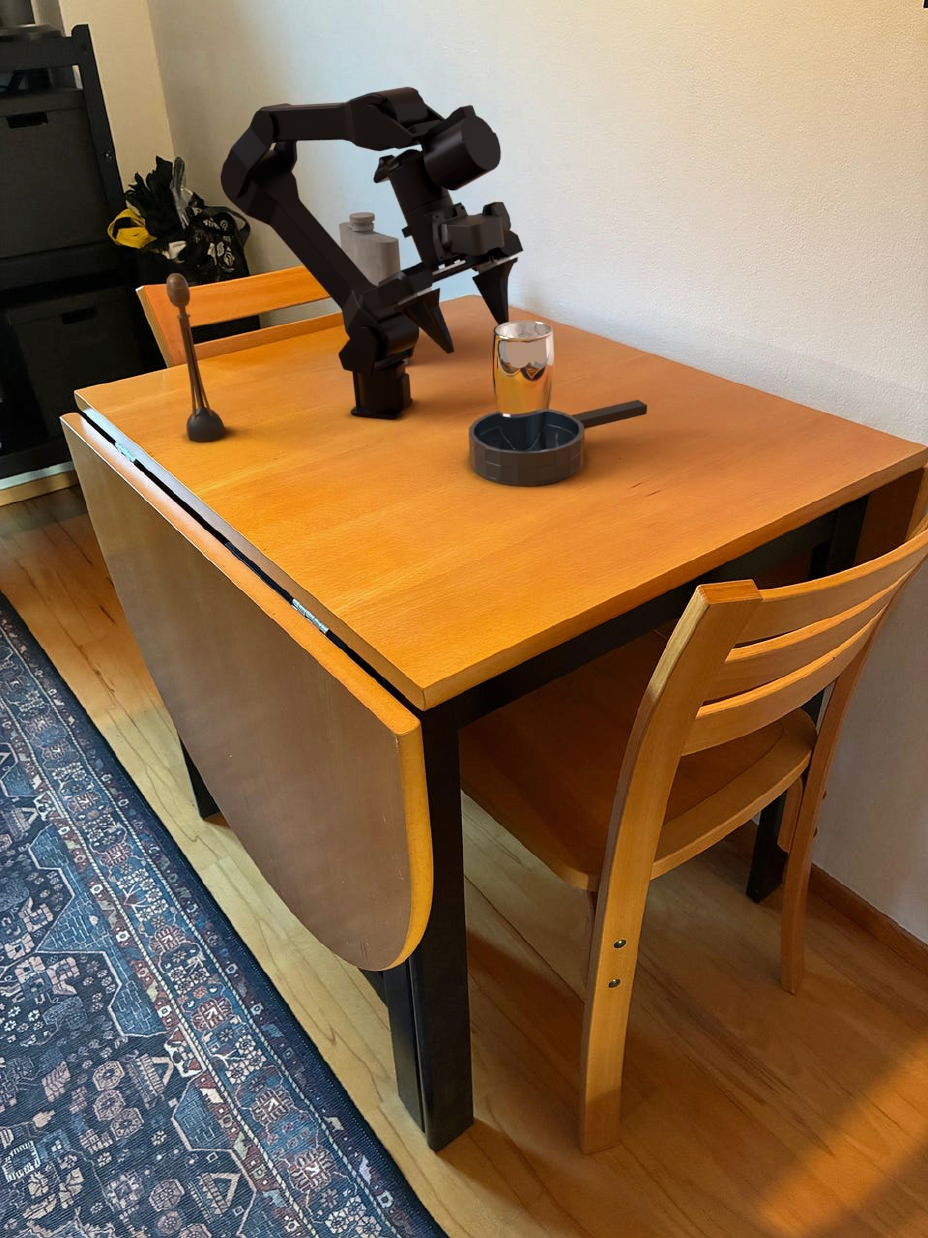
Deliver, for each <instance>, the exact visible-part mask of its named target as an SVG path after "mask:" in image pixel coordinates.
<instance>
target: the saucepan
mask: <svg viewBox="0 0 928 1238" xmlns="http://www.w3.org/2000/svg"><path fill="white" fill-rule="evenodd" d="M571 415H572V414H569V413H567V412H564V411H559V410H555V409H551V408H549V411H548V416H547V424H546V435H547V442H548V448H549V449H546V450H540V451H512V450H503V449H499V448H498V446H499V441H500V420H499V414H498V410H497V411H493V412H491V413H487V414H485V415H483V416H481V417H479V418H477V419H475V420H474V421H473V422H472V424H471V425H470V426H469V427H468V448H469V449H468V450H469V452H468V453H469V463H470V464H469V465H470V468H471V469H472V471H473V473H475V474H476V475H478V476H479V477H481V478H483V479H484V480H487V481H489V482H492V483H496V484H501V485H506V486H514V487H537V486H545V485H550V484H554V483H559V482H562V481H564V480H567V479H569V478H571V477H573V476H574V475H576V474H577V473H578V472H580V470H581V469H582V467H583V465H584V460H585V439H586V438H585V436H586V434H585V433H586V429H584V426H583V424H582V423H581V422H580V421H579V420H577V418H574V417H572V416H571Z"/></svg>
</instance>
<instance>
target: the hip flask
mask: <svg viewBox="0 0 928 1238" xmlns="http://www.w3.org/2000/svg"><path fill="white" fill-rule="evenodd" d="M348 218H349V221H344V222H341V223H339V224H338V229H339V238H340V248H341V249H342V250H343V251H344V252H345V253H346V255H347V256H348V257H349V258H350V259H351V260H352V262H353V263H354V264H355V265H356V266H357V267H358V269H359V270H360V271H361V272H362V273H363V274H364V276H365V277H366V278H367V279H368V280H369V281H370V282H371V283H372V284H374V285H376V286H378V283H379V282H380V281H382V280H384V279H386V278H388V277H389V276H391V275H393V274H395V273H397V272H399V271H401V270H402V267H401V255H400V254H401V253H400V242H399V241H400V240H399V238H398V237H394V236H390V235H386V234H384V233H380V232H377V231H375V230H374V229H375V223H374V222H375V221H376V215H375V213H374V212H370V211H361V212H360V211H359V212H354V213H351V214H349V215H348ZM402 361H405V366H406V365H407V364H408V358H407V359H404V360H402Z"/></svg>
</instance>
